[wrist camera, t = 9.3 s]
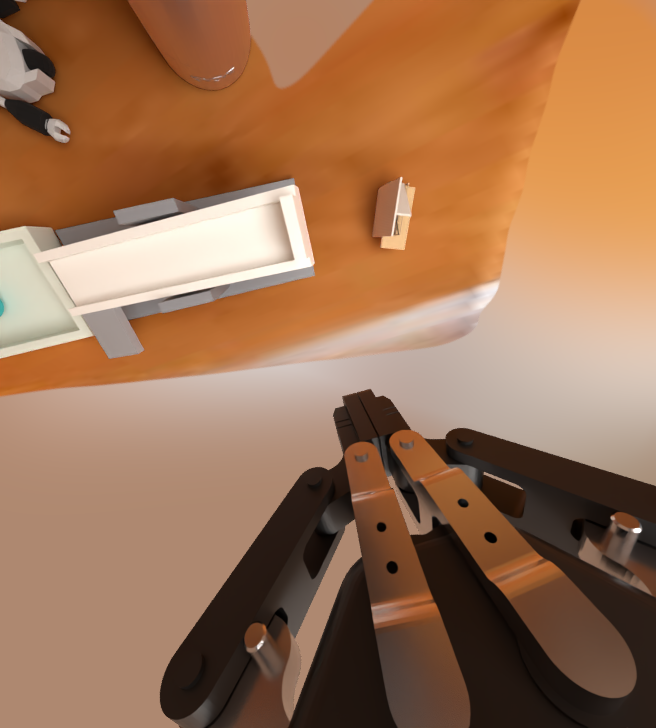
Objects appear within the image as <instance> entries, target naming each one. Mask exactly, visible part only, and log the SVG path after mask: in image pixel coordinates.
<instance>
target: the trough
mask: <svg viewBox="0 0 656 728" xmlns="http://www.w3.org/2000/svg"><path fill="white" fill-rule="evenodd" d="M33 255H34V256H35V258H36V260H37V261H38V263H43V262H50V264H51V266H52V267H53V269H54V270H55V272H56V274H57V275H58V277H59V279H60V280H61V282H62V283H63V285H64V287H65V288H66V290H67V291H68V293H69V295H70V296H71V298H72V300H73V301H74V303H75V304H76V306H77V307H73V308H70V309H68V310H69V311H70V313H71V315H72V316H77V315H82V316H83V317H84V319H85V321H86V322H87V324H88V325H89V327H90V329H91V330H92V332H93V333H94V335H95V337H96V338H97V340H98V342H99V343H100V345H101V346H102V348H103V350H104V351H105V353H106V354H107V356H108V358H109V359H111V358H117V357H123V356H129V355H134V354H139V353H141V352H142V351H144V349H143V347H142V345H141V343H140V341H139V339H138V338H137V336H136V334H135V332H134V330H133V328H132V327H131V325H130V323H129V321H128V319H127V318H126V316H125V314H124V312H123V310H122V308H121V307H120V306H125V305H130V304H135V303H139V302H144V301H149V300H154V299H158V298H163V297H168V296H173V295H177V294H182V293H187V292H192V291H197V290H201V289H206V288H211V287H216V286H220V285H225V284H230V283H235V282H239V281H244V280H249V279H254V278H258V277H263V276H268V275H273V274H278V273H282V272H287V271H292V270H297V269H301V268H306V267H311V266H313V265H314V264H315V262H314V258H313V253H312V249H311V244H310V239H309V235H308V230H307V225H306V221H305V216H304V212H303V207H302V202H301V198H300V193H299V188H298V187H297V186H295V185H290V186H286V187H282V188H279V189H275V190H271V191H267V192H264V193H260V194H256V195H252V196H249V197H245V198H241V199H237V200H234V201H230V202H226V203H223V204H219V205H215V206H211V207H208V208H204V209H200V210H196V211H193V212H189V213H185V214H181V215H178V216H174V217H170V218H167V219H163V220H159V221H155V222H152V223H148V224H144V225H140V226H137V227H133V228H129V229H125V230H122V231H118V232H114V233H111V234H107V235H103V236H99V237H96V238H92V239H88V240H84V241H81V242H77V243H73V244H70V245H66V246H62V247H58V248H55V249H51V250H47V251H43V252H40V253H36V254H33Z"/></svg>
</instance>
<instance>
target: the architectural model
mask: <svg viewBox="0 0 656 728" xmlns="http://www.w3.org/2000/svg"><path fill="white" fill-rule="evenodd" d="M407 185H409V183H407V184H404V183H402V177H400V178H398V179H396V180H394V181H390V182H389V183H387V184H385V185H383V186H381V187H380V188H379V189H378V196H377V203H376V211H375V219H374V226H373V234H372V237H382V238H381V245H380V248H389V249H401V250H404V249H405V244H406V238H407V232H408V226H409V221H410V217H411V209H412V204H413V198H414V192H415V187H408V186H407ZM396 215H397V218H396ZM395 221H396V225H395ZM394 227H395V231H394Z"/></svg>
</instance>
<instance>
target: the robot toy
mask: <svg viewBox="0 0 656 728" xmlns="http://www.w3.org/2000/svg"><path fill="white" fill-rule="evenodd" d="M15 1H20V2H25V3H26V2H27V1H28V0H0V18H5V17H7V16H9V15H11V14H13V13H15V12H18V11H20V9H19V7H18V5H17V3H16V2H15ZM54 76H55V67H54V65H53V63H52V62H51V60H50V59H49V58H48V57H47V56H46V55H45V54H44V53H43V51H42V50H41V49H40V48H39V47H38V46H37V45H36V44H35V43H34V42H32V41H31V40H30V39H29V38H28V37H27V36H26V35H24V34H23V33H22V32H21V31H19V30H17V29H15V28H13V27H11V26H9V25H7V24H5V23H4V22H3V21H2V20H1V19H0V106H2V107H4V108H6V109H7V110H8V111H9V112H10V113H11V114H12V115H13V116H14V117H15V118H17V119H18V120H19V121H20V122H21V123H22V124H24V125H26V126H28V127H30V128H32V129H34V130H36V131H38V132H40V133H42V134H44V135H46V136H52V137H53V138H54V139H55V140H56V141H59V142H62V143H66V142H68V141H69V138H68V137H67V136H63V135H61V134H60V133H61V129H62V130H64V131H65V132H66V133H68V134H70V130H69V128H68V126H67V125H66V124H65V123H63V122H62V121H61V120H59V119H53V118H52V117H51V116H50V115H49V114H48V113H47V112H45V111H43V110H41V109H39V108H37V107H35V106H33V105H31V104H29V103H32V102H36V101H39V99H40V98H41V97H42V96H43V95H46V94H49V93H52V92H54V86H55V81H53V80H52V79H51V78H52V77H54ZM3 97H5V98H9V99H5V98H3Z"/></svg>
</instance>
